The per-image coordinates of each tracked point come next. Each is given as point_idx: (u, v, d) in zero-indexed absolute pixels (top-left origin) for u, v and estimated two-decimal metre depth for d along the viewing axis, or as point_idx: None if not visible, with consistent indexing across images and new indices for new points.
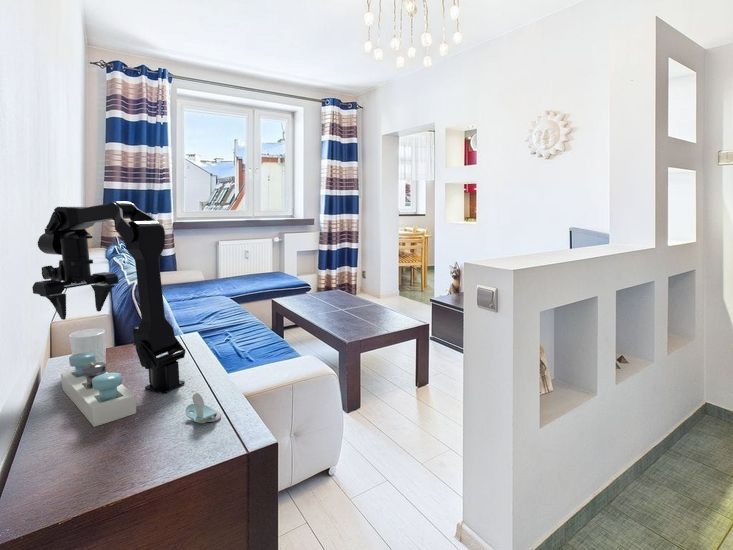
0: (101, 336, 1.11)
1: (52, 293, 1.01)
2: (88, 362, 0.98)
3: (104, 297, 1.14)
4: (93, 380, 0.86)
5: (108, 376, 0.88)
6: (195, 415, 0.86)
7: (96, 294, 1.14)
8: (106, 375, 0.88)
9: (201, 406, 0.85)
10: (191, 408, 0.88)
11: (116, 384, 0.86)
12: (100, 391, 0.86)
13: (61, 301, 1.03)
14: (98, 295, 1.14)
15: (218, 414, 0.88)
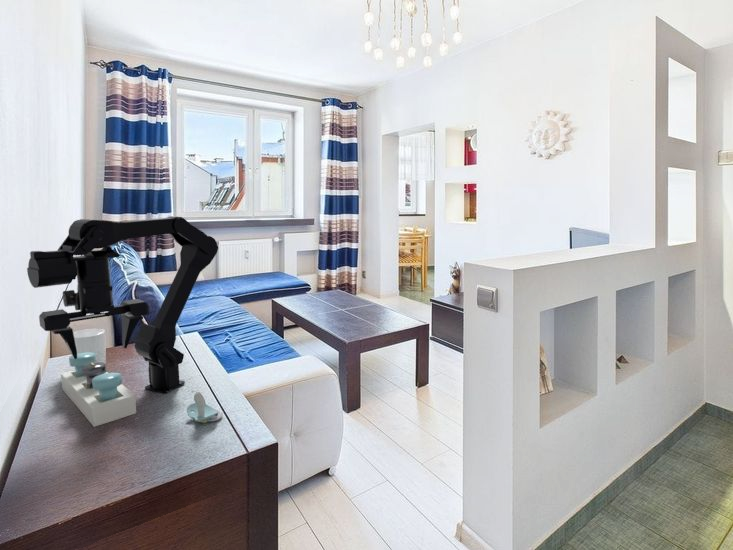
0: (101, 336, 1.11)
1: (52, 328, 0.80)
2: (88, 362, 0.98)
3: (129, 332, 0.91)
4: (93, 380, 0.86)
5: (108, 376, 0.88)
6: (196, 415, 0.87)
7: (123, 327, 0.93)
8: (106, 375, 0.88)
9: (202, 406, 0.85)
10: (192, 408, 0.88)
11: (116, 384, 0.86)
12: (100, 391, 0.86)
13: (67, 338, 0.83)
14: (124, 328, 0.92)
15: (219, 414, 0.88)
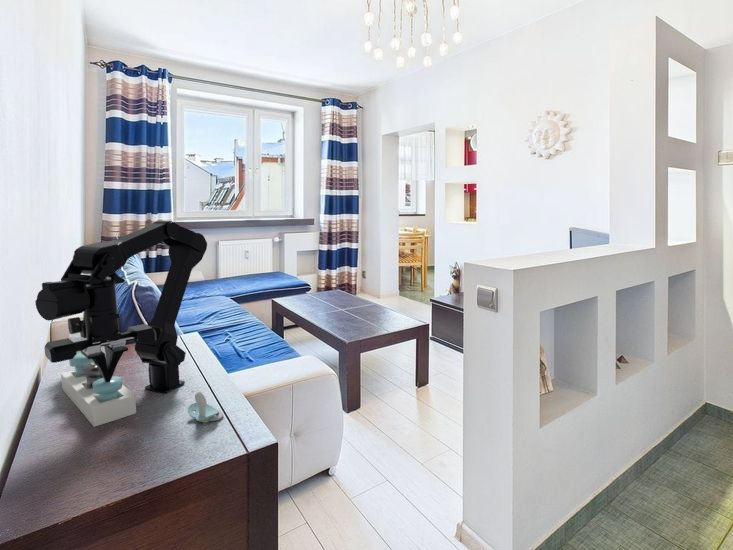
0: None
1: (59, 360, 0.78)
2: (88, 362, 0.98)
3: (113, 364, 0.86)
4: (93, 384, 0.86)
5: None
6: (197, 415, 0.87)
7: (106, 359, 0.87)
8: None
9: (203, 405, 0.86)
10: (193, 407, 0.88)
11: (116, 388, 0.87)
12: (100, 395, 0.86)
13: (100, 362, 0.84)
14: (108, 360, 0.87)
15: (220, 413, 0.88)
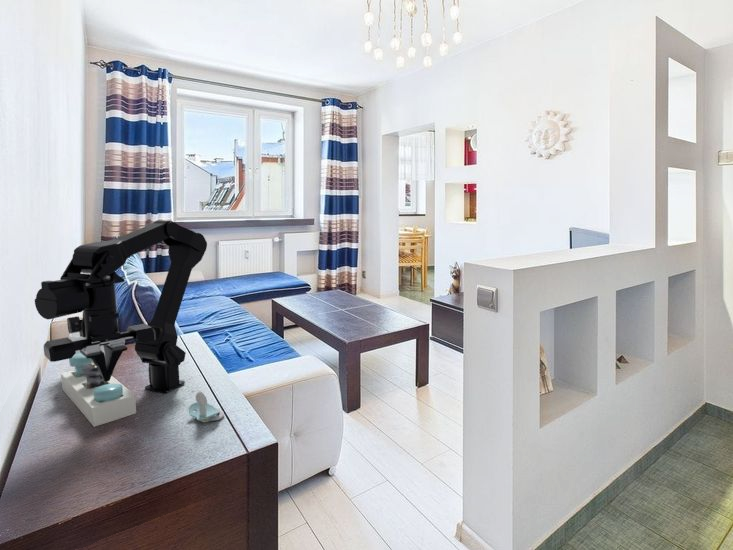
0: None
1: (58, 359, 0.78)
2: (88, 362, 0.98)
3: (113, 364, 0.86)
4: (94, 391, 0.86)
5: (110, 387, 0.88)
6: (198, 414, 0.87)
7: (106, 358, 0.87)
8: (107, 386, 0.89)
9: (204, 405, 0.86)
10: (194, 407, 0.88)
11: (117, 395, 0.87)
12: (101, 402, 0.87)
13: (99, 362, 0.84)
14: (107, 360, 0.87)
15: (221, 413, 0.88)
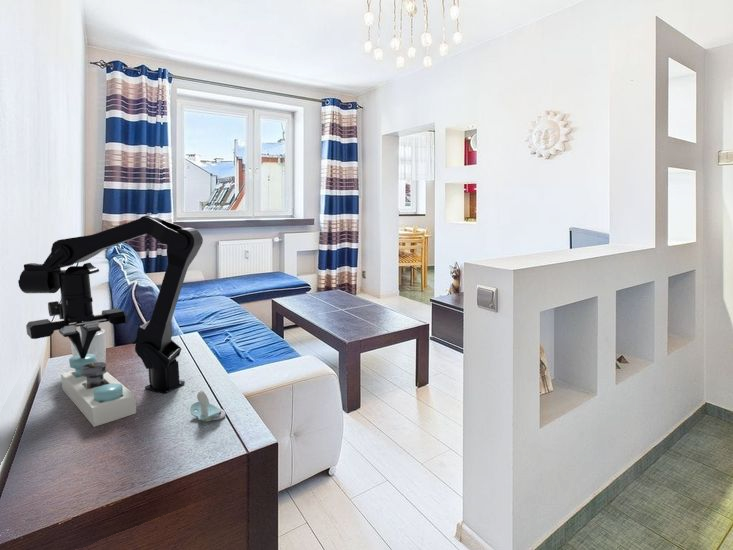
0: (101, 336, 1.11)
1: (38, 336, 0.90)
2: None
3: (88, 342, 0.98)
4: (94, 391, 0.86)
5: (110, 387, 0.88)
6: (199, 414, 0.87)
7: (82, 338, 0.99)
8: (107, 386, 0.89)
9: (206, 404, 0.86)
10: (196, 406, 0.89)
11: (117, 395, 0.87)
12: (101, 402, 0.87)
13: (75, 340, 0.96)
14: (83, 339, 0.99)
15: (222, 412, 0.88)
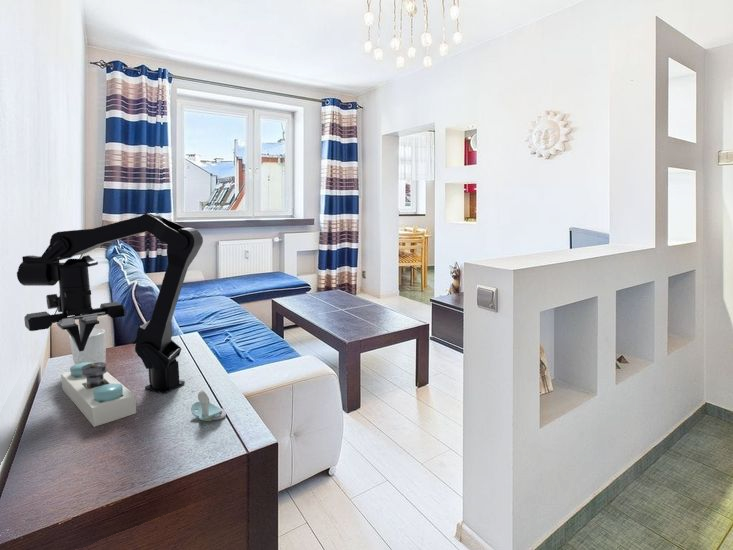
0: (101, 336, 1.11)
1: (36, 329, 0.90)
2: None
3: (86, 335, 0.98)
4: (94, 391, 0.86)
5: (110, 387, 0.88)
6: (200, 413, 0.87)
7: (80, 331, 0.99)
8: (107, 386, 0.89)
9: (206, 404, 0.86)
10: (196, 406, 0.89)
11: (117, 395, 0.87)
12: (101, 402, 0.87)
13: (73, 333, 0.95)
14: (81, 332, 0.98)
15: (223, 412, 0.88)
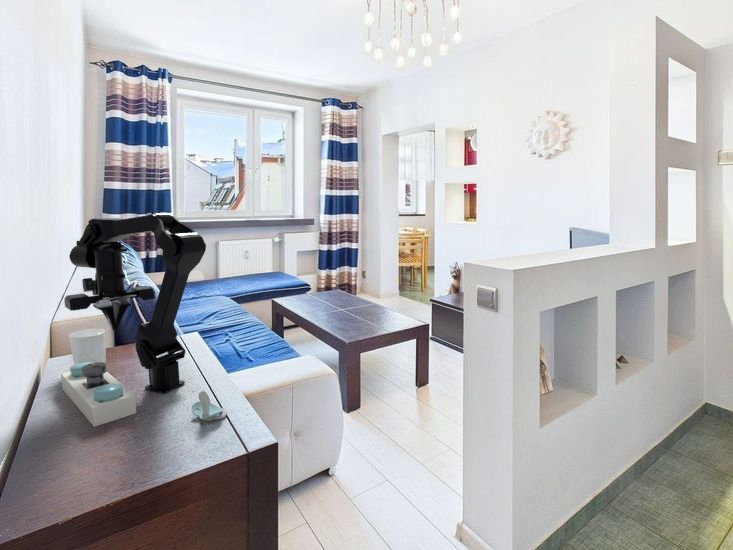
0: (101, 336, 1.11)
1: (76, 308, 0.97)
2: None
3: (120, 316, 1.05)
4: (94, 391, 0.86)
5: (110, 387, 0.88)
6: (201, 413, 0.87)
7: (114, 312, 1.06)
8: (107, 386, 0.89)
9: (207, 404, 0.86)
10: (197, 406, 0.89)
11: (117, 395, 0.87)
12: (101, 402, 0.87)
13: (109, 313, 1.03)
14: (115, 313, 1.06)
15: (224, 412, 0.88)
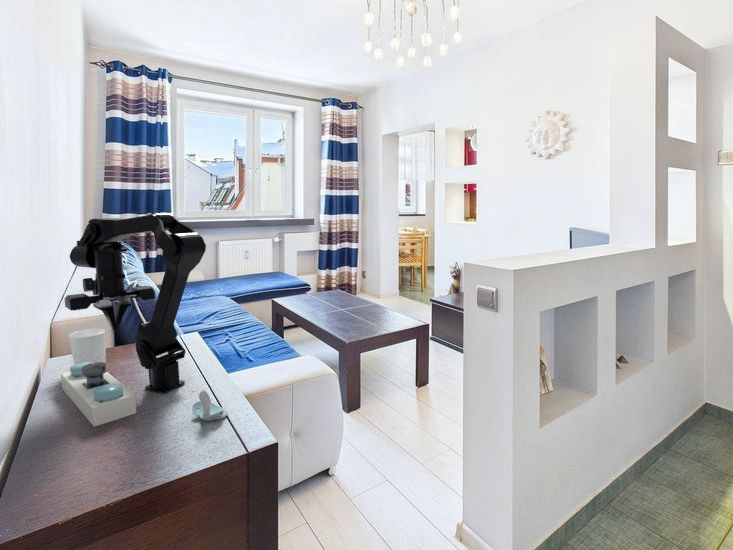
0: (101, 336, 1.11)
1: (76, 308, 0.97)
2: None
3: (120, 316, 1.05)
4: (94, 391, 0.86)
5: (110, 387, 0.88)
6: (201, 413, 0.88)
7: (114, 312, 1.06)
8: (107, 386, 0.89)
9: (208, 404, 0.86)
10: (198, 406, 0.89)
11: (117, 395, 0.87)
12: (101, 402, 0.87)
13: (109, 313, 1.03)
14: (115, 313, 1.06)
15: (224, 412, 0.89)
